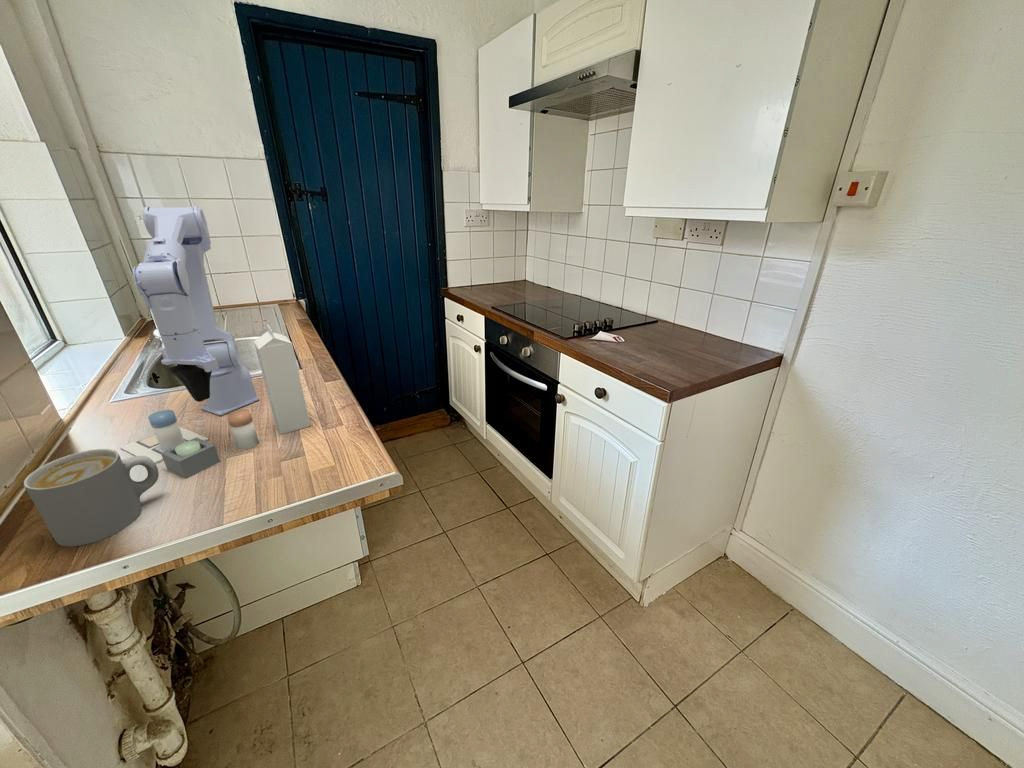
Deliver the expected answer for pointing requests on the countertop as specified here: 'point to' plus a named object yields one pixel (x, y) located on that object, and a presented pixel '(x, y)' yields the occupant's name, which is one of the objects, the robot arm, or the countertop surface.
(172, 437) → the cylinder
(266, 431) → the countertop surface
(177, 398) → the countertop surface
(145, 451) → the sheet
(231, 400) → the robot arm
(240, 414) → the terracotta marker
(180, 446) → the button
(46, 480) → the coffee mug
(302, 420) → the milk
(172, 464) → the button housing
